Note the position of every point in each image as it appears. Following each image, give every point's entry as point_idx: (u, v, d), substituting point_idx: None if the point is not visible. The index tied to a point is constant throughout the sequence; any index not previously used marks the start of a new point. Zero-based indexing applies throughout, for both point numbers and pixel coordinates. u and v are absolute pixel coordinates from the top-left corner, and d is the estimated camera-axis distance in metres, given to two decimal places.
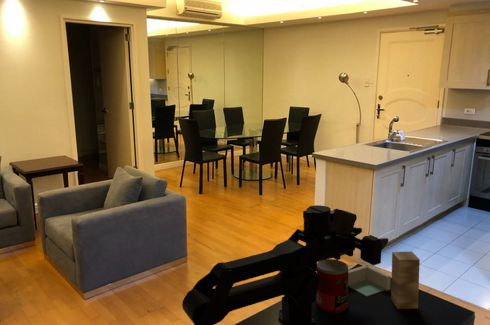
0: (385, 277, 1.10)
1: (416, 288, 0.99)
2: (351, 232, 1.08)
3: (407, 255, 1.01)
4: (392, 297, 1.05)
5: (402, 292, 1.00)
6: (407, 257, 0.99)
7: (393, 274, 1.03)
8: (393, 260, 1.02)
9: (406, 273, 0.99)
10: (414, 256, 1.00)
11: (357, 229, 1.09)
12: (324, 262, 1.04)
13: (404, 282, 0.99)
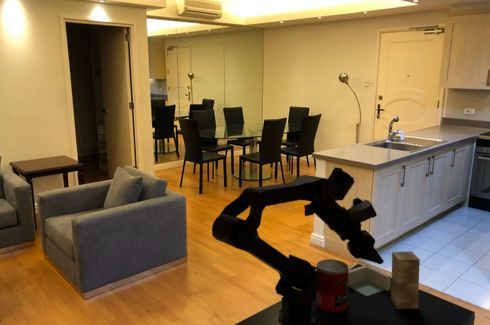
0: (385, 277, 1.10)
1: (416, 288, 0.99)
2: None
3: (407, 255, 1.01)
4: (392, 297, 1.05)
5: (402, 292, 1.00)
6: (407, 257, 0.99)
7: (393, 274, 1.03)
8: (393, 260, 1.02)
9: (406, 273, 0.99)
10: (414, 256, 1.00)
11: None
12: (324, 262, 1.04)
13: (404, 282, 0.99)
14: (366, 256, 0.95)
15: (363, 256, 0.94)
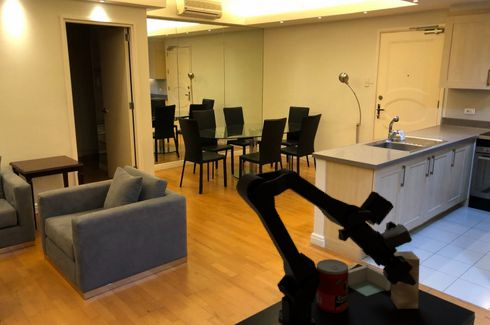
0: (385, 277, 1.10)
1: (416, 288, 1.00)
2: None
3: (407, 255, 1.01)
4: (392, 297, 1.05)
5: (402, 292, 1.00)
6: (407, 257, 0.99)
7: None
8: None
9: None
10: (414, 256, 1.00)
11: None
12: (324, 262, 1.04)
13: None
14: None
15: None
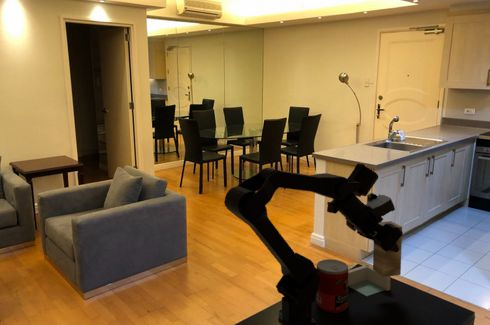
0: (385, 277, 1.10)
1: (399, 255, 1.03)
2: None
3: None
4: (374, 268, 1.07)
5: (387, 260, 1.03)
6: None
7: None
8: None
9: None
10: (396, 224, 1.04)
11: None
12: (324, 262, 1.04)
13: (389, 250, 1.02)
14: None
15: None
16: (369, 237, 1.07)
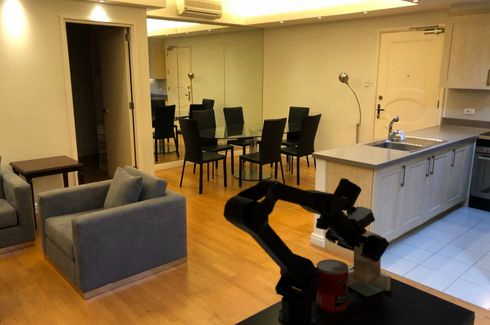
0: (385, 277, 1.10)
1: (379, 262, 1.09)
2: None
3: (368, 234, 1.09)
4: (355, 277, 1.11)
5: (369, 268, 1.07)
6: None
7: (356, 254, 1.10)
8: None
9: None
10: None
11: None
12: (324, 262, 1.04)
13: None
14: None
15: None
16: (349, 248, 1.11)
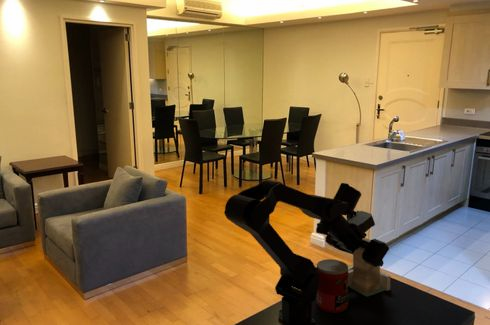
0: (385, 277, 1.10)
1: (378, 270, 1.10)
2: None
3: None
4: (355, 284, 1.12)
5: (369, 276, 1.08)
6: None
7: (356, 262, 1.10)
8: None
9: None
10: None
11: None
12: (324, 262, 1.04)
13: (370, 267, 1.08)
14: None
15: None
16: (346, 250, 1.12)
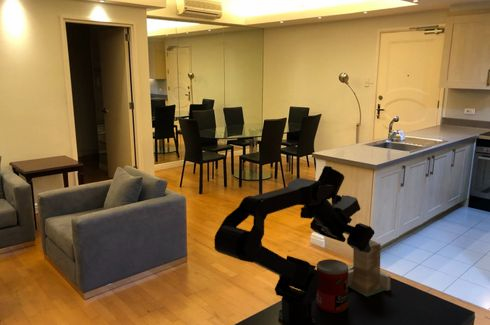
0: (385, 277, 1.10)
1: (378, 270, 1.09)
2: None
3: None
4: (355, 285, 1.12)
5: (369, 277, 1.08)
6: (370, 244, 1.08)
7: (356, 263, 1.10)
8: None
9: (371, 259, 1.08)
10: (374, 242, 1.10)
11: (342, 236, 1.11)
12: (324, 262, 1.04)
13: (370, 267, 1.08)
14: None
15: None
16: (330, 236, 1.10)
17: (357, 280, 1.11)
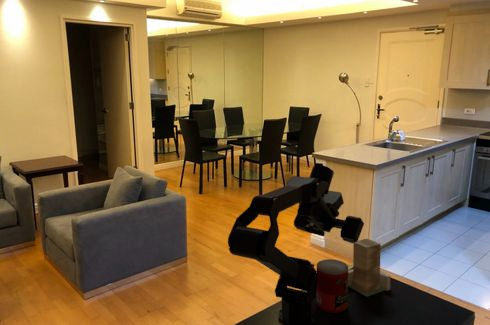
0: (385, 277, 1.10)
1: (378, 270, 1.09)
2: None
3: (368, 242, 1.10)
4: (355, 285, 1.12)
5: (369, 277, 1.08)
6: (370, 244, 1.08)
7: (356, 263, 1.10)
8: (356, 249, 1.10)
9: (371, 259, 1.08)
10: (374, 242, 1.10)
11: (322, 230, 1.15)
12: (324, 262, 1.04)
13: (370, 267, 1.08)
14: None
15: None
16: (313, 232, 1.12)
17: (357, 280, 1.11)
